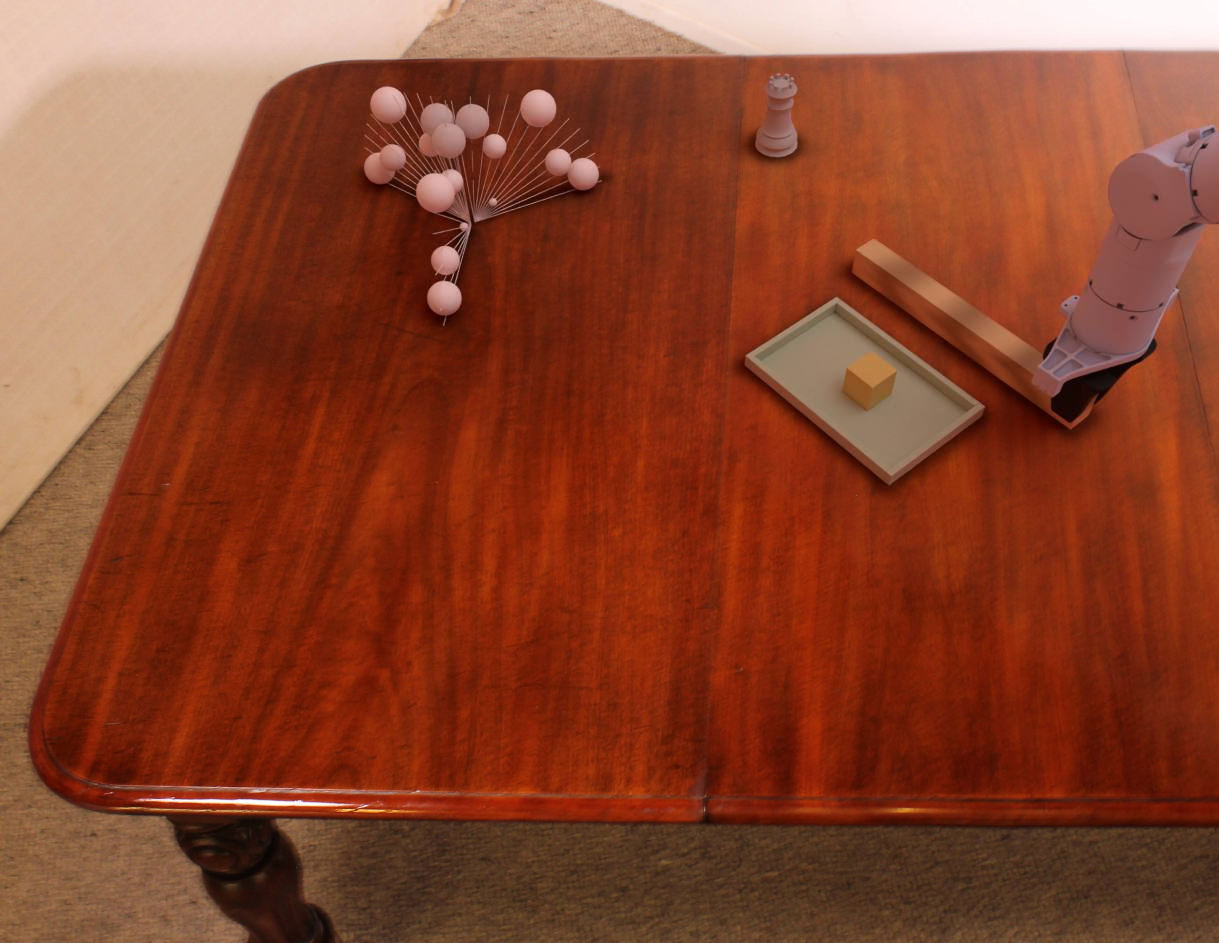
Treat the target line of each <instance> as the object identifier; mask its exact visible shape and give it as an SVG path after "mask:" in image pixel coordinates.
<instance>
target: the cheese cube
mask: <svg viewBox="0 0 1219 943" xmlns="http://www.w3.org/2000/svg"><path fill="white" fill-rule="evenodd" d="M896 374H897V370H896V369H895V368H893V367H892V366H891V365H889V364H888V363H887V362H886V361H884V360H883V359H882V358H880V357H879V356H878V355H876V354H875V353H874V352H872V351H871V352H869V353H868V354H866V355H865V356H863V357H862V358H860V359H859V360H857V361H856V362H854V363H853V364H851V365H850V366H848V367H847V369H846V374H845V379H844V385H843V390H842V391H843V392H844V393H846V394H847V395H848V396H849V397H851V398H852V399H853V400H854V401H856V402H857V403H858V404H859V405H861V406H862V407H863V408H865V409H866V410H867V411H868V410H869V409H871V408H872V407H874V406H875V405H877V404H878V403H879V402H881V401H882V400H884V399H885V398H886V397H888V396H889V395H891V394H892V391H893V387H894V383H895V379H896Z"/></svg>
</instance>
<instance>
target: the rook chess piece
mask: <svg viewBox="0 0 1219 943" xmlns="http://www.w3.org/2000/svg"><path fill="white" fill-rule="evenodd" d="M768 79H769V80H768V83H766V84H765V86H764V91H765V94H766V95H767V96H768V97H767V98H766V100H765V104H766V106H767V110H766V115H765V119H764V121H763V122H762V123H761V126H760V127H759V128H758V129H757V131H756V135H755V138H756V139H755V143H754V146H755V148H756V150H757V151H758V152H759V153H760V154H762V155H763V156H766V157H768V158H776V159H779V158H786V157H788V156H789V155H791V154H792V153H794V152H795V150H796V149H797V148H798V132H797V130H796V128H795V125H794V123H793V121H792V107H793V105H794V99H793V97H794V96H795V95H796V94H797V92H798V86H797V85H796V83H795V78H794V76H791V77H790V74H788V73H784V76H782V74H781V73H780V72H779V73H775V76H773V75H771V76H770V77H769V78H768Z"/></svg>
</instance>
